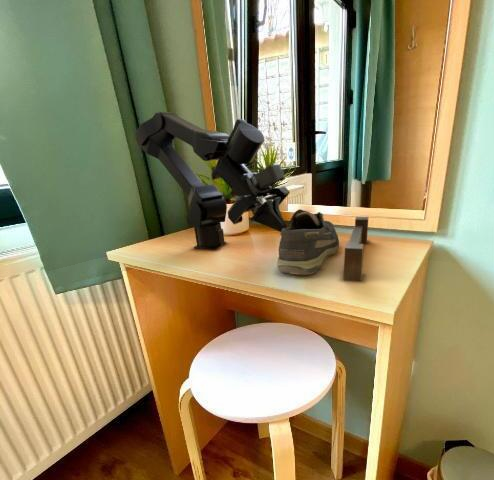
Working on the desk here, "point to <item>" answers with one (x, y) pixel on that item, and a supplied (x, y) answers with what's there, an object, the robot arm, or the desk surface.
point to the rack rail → (355, 250)
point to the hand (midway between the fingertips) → (286, 231)
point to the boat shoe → (306, 243)
